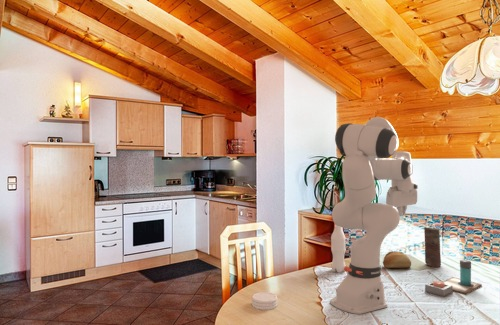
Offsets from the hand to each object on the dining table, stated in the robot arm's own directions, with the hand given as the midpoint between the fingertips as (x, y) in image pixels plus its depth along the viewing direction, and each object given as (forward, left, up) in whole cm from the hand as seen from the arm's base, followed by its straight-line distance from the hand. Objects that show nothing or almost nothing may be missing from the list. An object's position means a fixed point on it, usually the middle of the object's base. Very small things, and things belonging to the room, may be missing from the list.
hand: (401, 215), depth 162 cm
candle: (+33, +2, -30) cm, 45 cm away
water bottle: (-14, +26, -30) cm, 42 cm away
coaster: (-69, +17, -30) cm, 77 cm away
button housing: (-3, -18, -30) cm, 35 cm away
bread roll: (+15, +12, -30) cm, 36 cm away
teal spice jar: (+13, -22, -29) cm, 38 cm away
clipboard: (+11, -20, -30) cm, 38 cm away
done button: (-3, -18, -29) cm, 34 cm away
